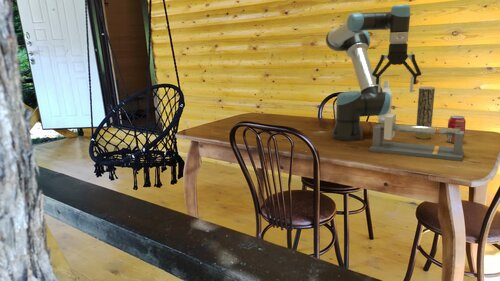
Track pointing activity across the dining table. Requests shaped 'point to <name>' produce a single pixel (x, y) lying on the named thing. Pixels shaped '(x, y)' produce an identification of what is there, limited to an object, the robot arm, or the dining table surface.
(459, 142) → the pipe stand
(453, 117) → the soda can
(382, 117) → the water bottle
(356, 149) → the dining table surface
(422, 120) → the wooden log
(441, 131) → the pipe
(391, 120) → the collar
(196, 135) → the dining table surface
